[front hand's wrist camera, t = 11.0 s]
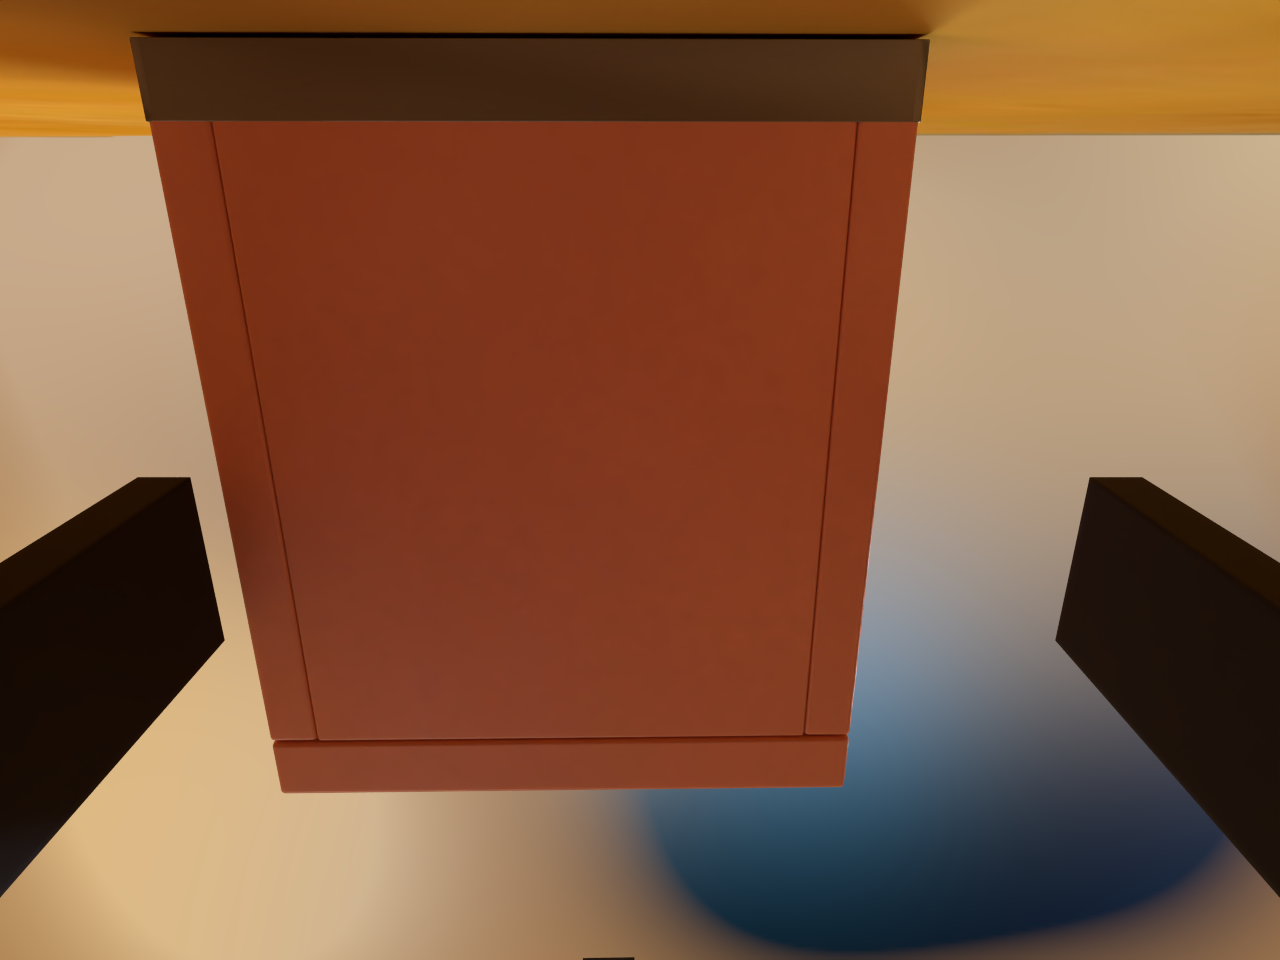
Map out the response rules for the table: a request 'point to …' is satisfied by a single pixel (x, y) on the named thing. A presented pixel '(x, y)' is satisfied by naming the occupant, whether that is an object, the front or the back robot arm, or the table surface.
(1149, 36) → the table surface
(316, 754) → the lid
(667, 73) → the chest
